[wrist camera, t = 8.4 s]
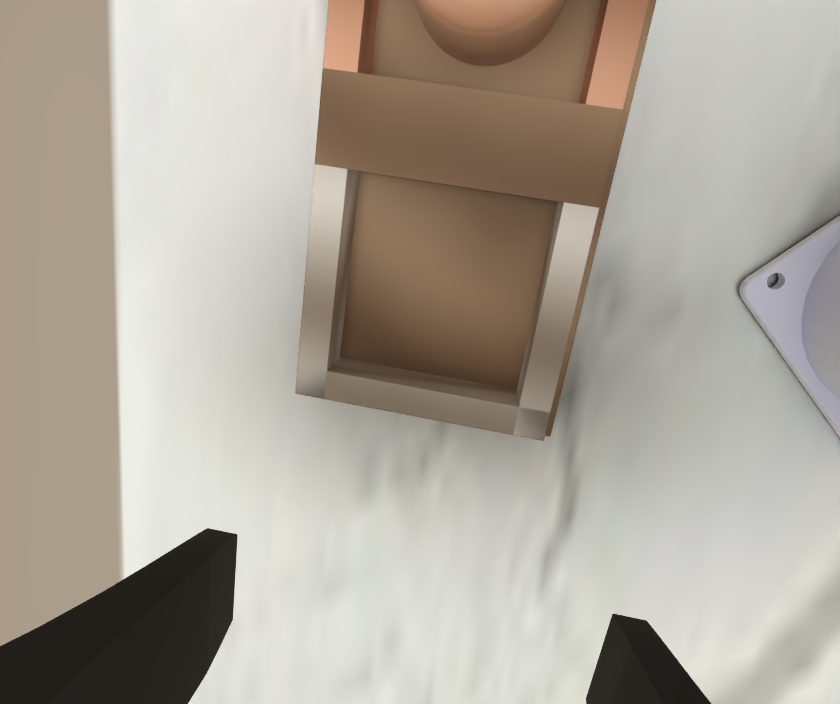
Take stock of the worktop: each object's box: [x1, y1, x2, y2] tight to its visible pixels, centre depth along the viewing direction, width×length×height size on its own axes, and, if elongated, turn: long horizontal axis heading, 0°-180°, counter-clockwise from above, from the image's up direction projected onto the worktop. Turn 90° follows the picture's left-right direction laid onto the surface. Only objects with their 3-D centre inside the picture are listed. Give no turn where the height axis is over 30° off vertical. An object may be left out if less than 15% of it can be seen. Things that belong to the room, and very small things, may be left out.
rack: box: [295, 0, 656, 441], centre depth 16 cm, size 18×9×2 cm, turn 171°
